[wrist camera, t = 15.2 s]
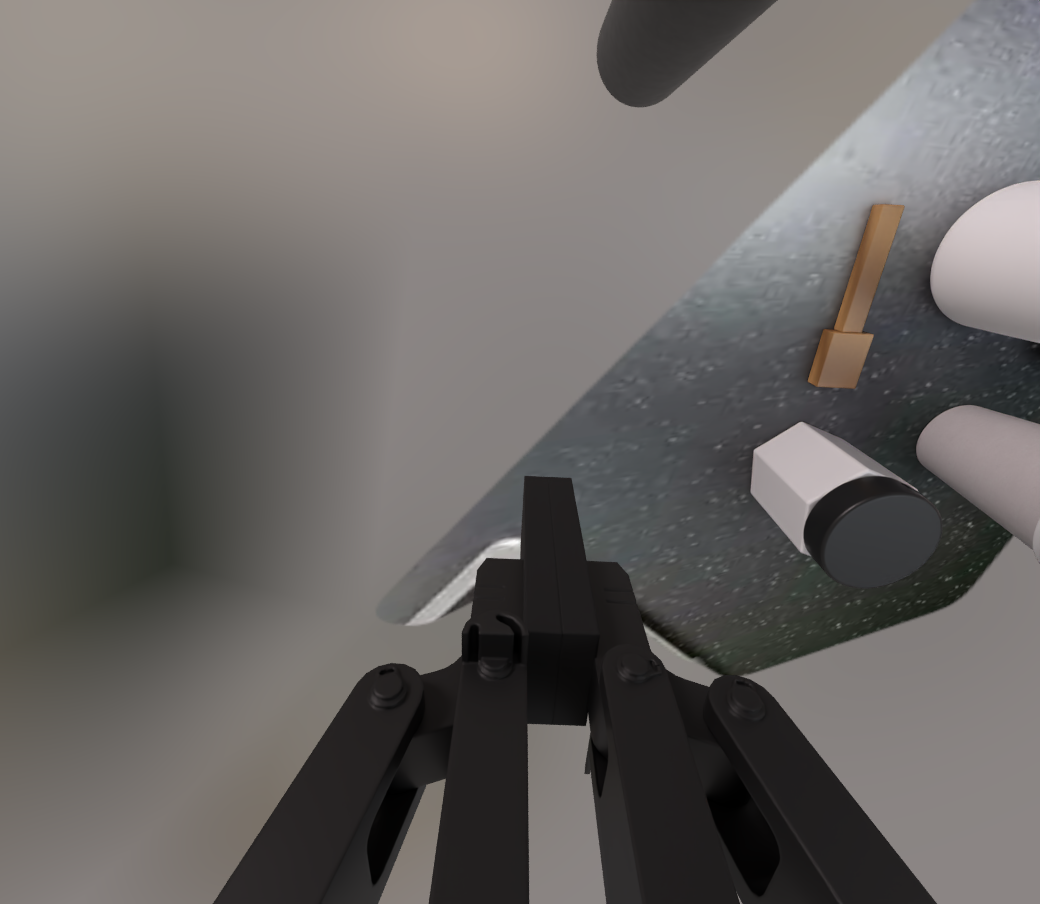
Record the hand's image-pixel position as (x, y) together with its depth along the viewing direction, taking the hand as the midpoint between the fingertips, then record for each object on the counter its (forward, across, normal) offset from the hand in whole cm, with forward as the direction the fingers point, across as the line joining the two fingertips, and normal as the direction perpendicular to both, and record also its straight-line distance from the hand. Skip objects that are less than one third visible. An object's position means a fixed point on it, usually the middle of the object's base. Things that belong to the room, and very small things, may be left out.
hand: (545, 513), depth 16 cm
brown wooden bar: (+26, +25, +4) cm, 37 cm away
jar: (+27, +25, -10) cm, 38 cm away
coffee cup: (+27, +38, -7) cm, 47 cm away
